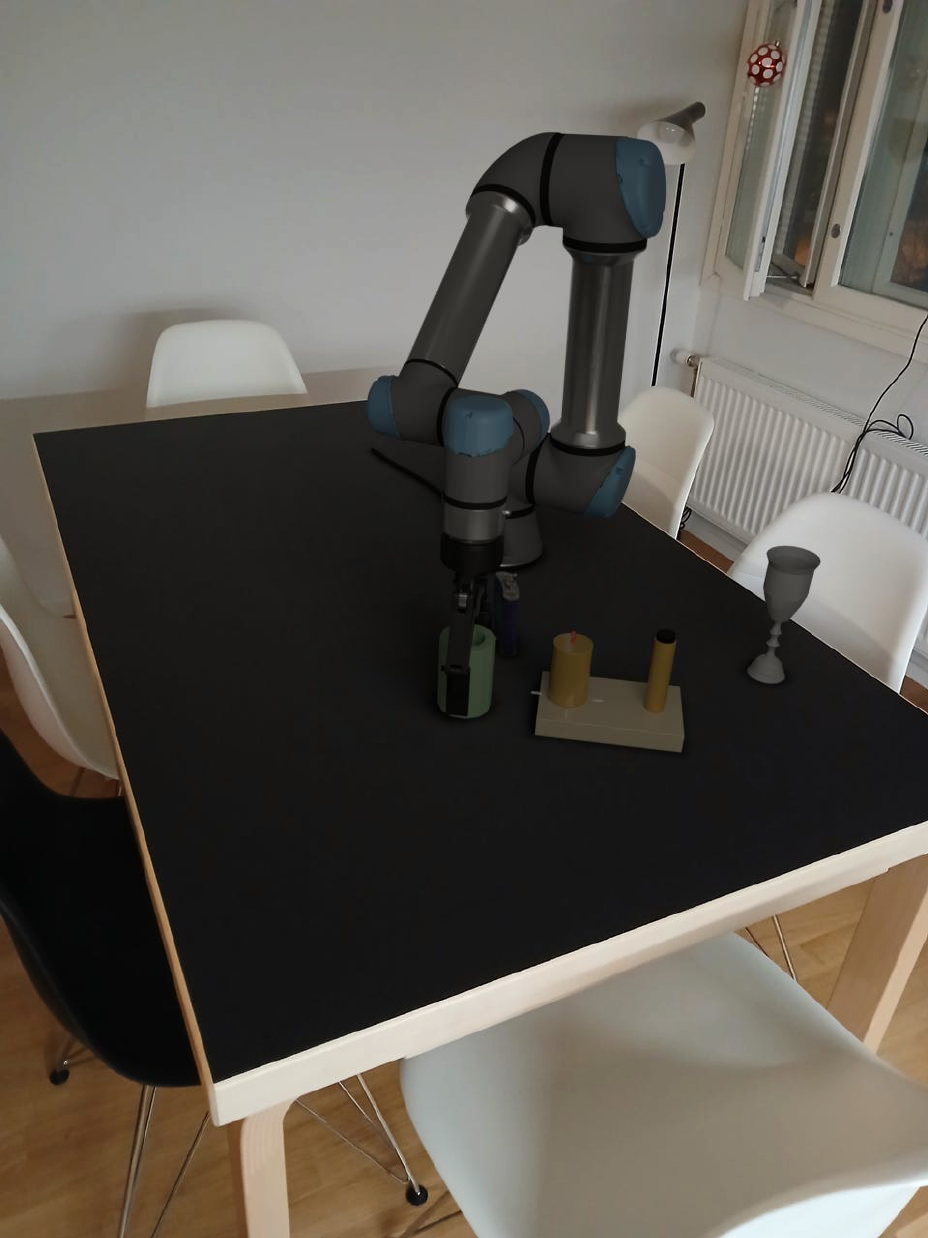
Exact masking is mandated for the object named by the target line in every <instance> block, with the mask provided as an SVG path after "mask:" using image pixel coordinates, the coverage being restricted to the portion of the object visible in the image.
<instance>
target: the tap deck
mask: <svg viewBox="0 0 928 1238" xmlns="http://www.w3.org/2000/svg"><path fill="white" fill-rule="evenodd" d="M549 675H550V671H544V670H543V671H542V675H541V682H540V688H539V689H540V690H539V691H536V690H535V691H534V690H531V692H530V694H532V695H538V704H537V711H536V716H535V717H536V719H535V726H534V727H535V728H534V735H535V736H540V737H550V738H557V739H566V740H574V741H582V742H583V741H584V742H592V743H598V744H599V743H600V744H606V745H607V744H609V745H614V746H615V745H616V746H625V747H633V748H640V749H641V748H642V749H650V750H657V751H665V752H666V751H667V752H674V753H675V752H676V753H682V751H683V746H684V741H685V727H684V715H683V703H682V695H681V686H678V685H670V684H669V686H668V692H667V698H666V703H665V709H664V711H663V712H661V713H652V712H649V711H647V710H646V709H645V708H644V701H645V695H646V689H647V683H648V682H643V681H633V680H626V679H616V678H607V677H599V676H598V677H597V676H590V677H589V685H588V693H587V700H586V702H585V703H584V704H583V705H581V706H579V707H574V708H566V707H561V706H558V705H556V704H554V703H552V702H551V701H550V700H549V698H548V685H549Z"/></svg>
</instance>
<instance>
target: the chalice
mask: <svg viewBox="0 0 928 1238" xmlns="http://www.w3.org/2000/svg"><path fill="white" fill-rule="evenodd" d="M766 558H767V561H768V562H767V566H766V570H765V571H766V572H765V576H764V580H763V584H762V591H763V596H764V597H763V598H764V602H765V606H766V609H767V613H768V617H769V618H770V619H772V620H773V621H774V622H773V623H774V624H773V625H772V628H771V629H769V633H770V638H769V640H767V641H766V645H767V651H766V653H762V654H759V655H758V656H757V657H755V658H754V661H752V662H751V664H750V665H749V666H748V667H747V669H746V670H747V674H748V675H749V676H750V677H751V678H752V679H754V680H755V681H758V682H761V683H763V684H764V683H765V684H778V683H781V682H783V681H784V680H785V678H786V675H785V673H784V668H783V663H782V661H781V659H780V658H779V657H777V656H776V655H775V651H776V649H777V648H778V647H780V642H779V637H780V635H782V630H781V627H782V626H781V625H782V623H785V622H788V621H790V620H791V619H792V617H793V616H795V614H796V613H797V612H798V611H799V610H800V608H801V607H802V606H803V604H804V602H805V601H806V600H807V598H808V597H809V594H810V590H811V585H812V582H813V577H814V574H815V571H816V569H817V568H818V567H819V566H820V565H821V563H822V561H821V558H820V557H819V556H818V555H817V554H816V553H815V552H813V551H811V550H810V549H806V548H803V547H800V546H795V545H777V546H772V547H771V548H769V549H768V550H767V552H766Z"/></svg>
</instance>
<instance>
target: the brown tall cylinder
mask: <svg viewBox="0 0 928 1238" xmlns="http://www.w3.org/2000/svg"><path fill="white" fill-rule="evenodd" d="M676 645H677V633H676V631H674V630H672V629H668V628H660V629H658V630H657V631H656V635H655V637H654V641H653V645H652V646H653V647H652V653H651V659H650V664H649V665H650V666H649V671H648V677H647V682H646V683H647V689H646V695H645V701H644V708H645V709H646V710H647V711H649V712H652V713H661V712H663V711H664V709H665V703H666V698H667V692H668V686H669V685H670V680H671V676H672V669H673V663H674V658H675V652H676Z"/></svg>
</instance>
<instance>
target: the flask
mask: <svg viewBox="0 0 928 1238" xmlns="http://www.w3.org/2000/svg"><path fill="white" fill-rule="evenodd" d="M514 577H518V573H516V572H514V573H511V572H509V571H496V572H494V581H493V585H494V586H493V604H492V615H491V616H492V617H491V631H493V632H494V636H495V638H496V640H495V641H498V642H497V645H498V646H499V647H498V649H499V653H500V654H501V655H504V656H505V657H512V656H515V655H516V654H517V652H518V632H519V631H518V630H519V615H520V614H519V613H520V603H521V591H520V588H519V585H518V583H517V581H516V579H515V578H514Z"/></svg>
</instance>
